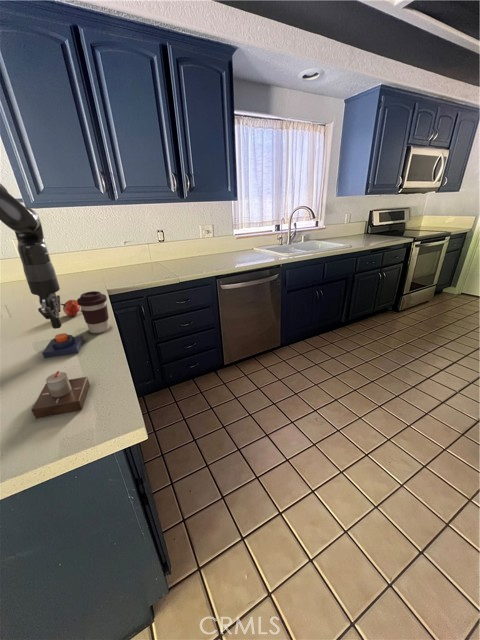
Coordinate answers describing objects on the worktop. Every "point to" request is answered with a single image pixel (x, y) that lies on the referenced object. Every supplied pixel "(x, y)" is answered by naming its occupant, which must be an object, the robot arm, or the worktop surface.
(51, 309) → the robot arm
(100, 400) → the worktop surface
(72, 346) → the button box
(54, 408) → the panel
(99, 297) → the coffee cup
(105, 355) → the worktop surface
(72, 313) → the pomegranate
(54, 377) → the dial
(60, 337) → the button
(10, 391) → the worktop surface
